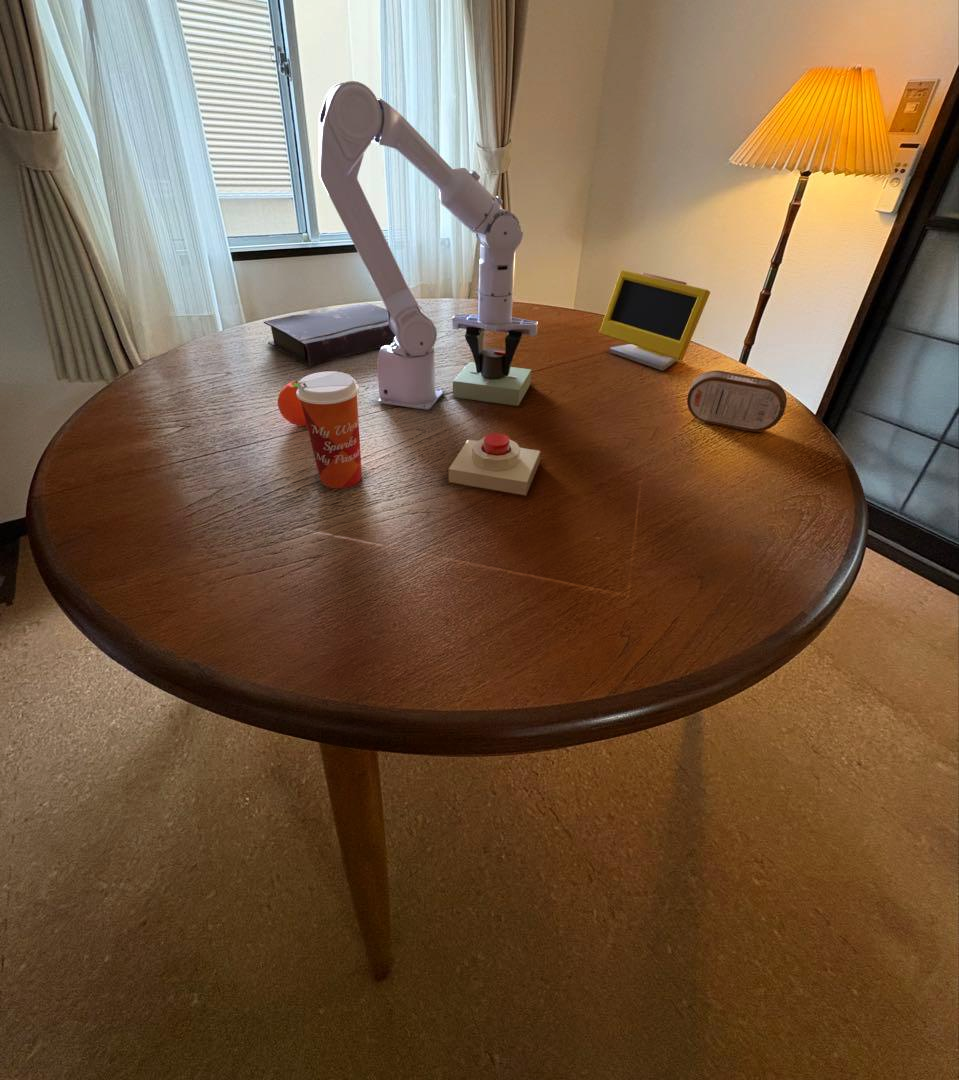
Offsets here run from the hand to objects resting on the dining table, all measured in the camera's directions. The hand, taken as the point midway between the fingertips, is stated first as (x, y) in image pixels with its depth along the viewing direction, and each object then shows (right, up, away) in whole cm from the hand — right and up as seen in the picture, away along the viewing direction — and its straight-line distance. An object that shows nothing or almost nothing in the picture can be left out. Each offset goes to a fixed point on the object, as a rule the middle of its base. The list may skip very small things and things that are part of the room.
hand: (493, 372), depth 101 cm
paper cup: (-22, -22, -23) cm, 38 cm away
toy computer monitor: (+32, +8, +17) cm, 38 cm away
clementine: (-30, -12, -10) cm, 34 cm away
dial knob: (0, 0, 0) cm, 0 cm away
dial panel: (0, -3, +2) cm, 3 cm away
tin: (+39, -11, -7) cm, 41 cm away
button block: (0, -21, -21) cm, 29 cm away
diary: (-33, +12, +21) cm, 41 cm away
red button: (0, -18, -23) cm, 29 cm away
